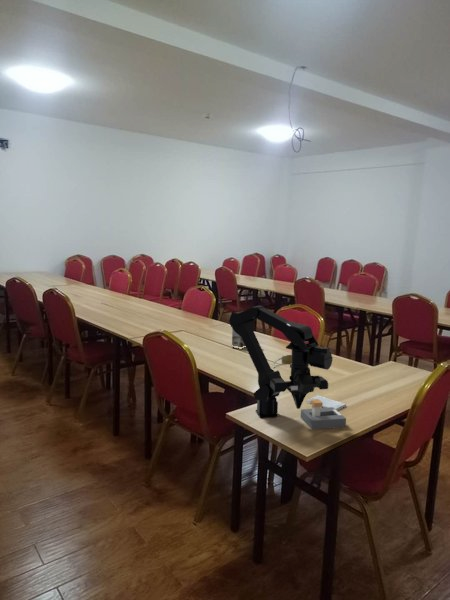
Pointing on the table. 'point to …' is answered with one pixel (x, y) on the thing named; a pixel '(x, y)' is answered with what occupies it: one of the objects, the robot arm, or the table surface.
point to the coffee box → (237, 339)
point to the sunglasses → (284, 359)
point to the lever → (316, 407)
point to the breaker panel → (323, 418)
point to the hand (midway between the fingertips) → (298, 408)
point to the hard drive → (328, 402)
